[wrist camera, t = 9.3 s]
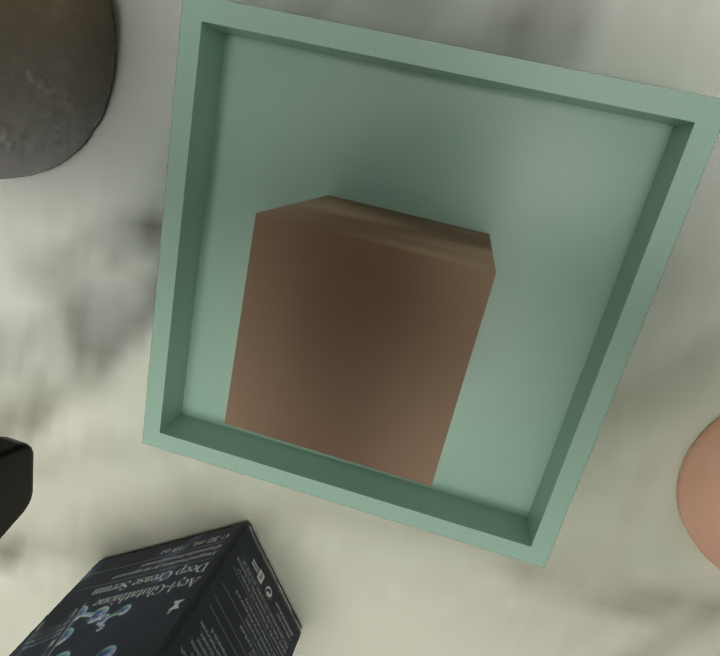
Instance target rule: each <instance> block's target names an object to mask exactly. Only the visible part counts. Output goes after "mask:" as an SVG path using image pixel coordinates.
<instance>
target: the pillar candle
mask: <svg viewBox="0 0 720 656" xmlns="http://www.w3.org/2000/svg"><path fill="white" fill-rule="evenodd" d="M114 57H115V27H114V22H113V18H112V9H111V3H110V0H0V179H5V178H17V177H25V176H29V175H33V174H36V173H40V172H43V171H46V170H49V169H51V168H53V167H55V166H57V165H59V164H61V163H62V162H64V161H65V160H66V159H67V158H69V157H70V156H72V155H73V154H74V153H75V152H77V151H78V149H80V148H81V147H82V146H83V145H84V144H85V142H86V141H87V140H88V138H89V136H90V134H91V133H92V132H93V130H94V128H95V127H96V125H97V124H98V122H99V120H100V119H101V117H102V115H103V113H104V110H105V107H106V104H107V102H108V98H109V93H110V89H111V84H112V80H113V74H114Z"/></svg>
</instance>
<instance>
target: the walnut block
mask: <svg viewBox="0 0 720 656" xmlns="http://www.w3.org/2000/svg"><path fill="white" fill-rule="evenodd" d="M495 275H496V270H495V264H494V258H493V252H492V246H491V240H490V234H487V233H483V232H479V231H475V230H471V229H467V228H463V227H459V226H454V225H450V224H446V223H442V222H438V221H434V220H430V219H426V218H422V217H417V216H413V215H409V214H405V213H401V212H397V211H393V210H389V209H385V208H380V207H376V206H372V205H368V204H364V203H360V202H356V201H352V200H348V199H343V198H339V197H335V196H331V195H327V196H323V197H319V198H315V199H310V200H306V201H302V202H298V203H294V204H290V205H286V206H282V207H278V208H274V209H270V210H266V211H261V212H257V213H256V216H255V223H254V229H253V236H252V243H251V249H250V256H249V263H248V269H247V276H246V283H245V289H244V296H243V303H242V309H241V316H240V323H239V329H238V336H237V343H236V349H235V356H234V363H233V370H232V376H231V383H230V390H229V396H228V403H227V410H226V416H225V424H228V425H231V426H235V427H238V428H241V429H245V430H248V431H251V432H254V433H258V434H261V435H264V436H268V437H271V438H274V439H278V440H281V441H284V442H287V443H291V444H294V445H297V446H301V447H304V448H307V449H310V450H314V451H317V452H320V453H324V454H327V455H330V456H334V457H337V458H340V459H343V460H347V461H350V462H353V463H357V464H360V465H363V466H366V467H370V468H373V469H376V470H380V471H383V472H386V473H390V474H393V475H396V476H399V477H403V478H406V479H409V480H413V481H416V482H419V483H422V484H426V485H429V486H432V483H433V480H434V476H435V473H436V470H437V467H438V463H439V460H440V457H441V453H442V450H443V447H444V443H445V440H446V437H447V434H448V430H449V427H450V424H451V420H452V417H453V414H454V410H455V407H456V404H457V401H458V397H459V394H460V391H461V387H462V384H463V381H464V377H465V374H466V371H467V368H468V364H469V361H470V358H471V354H472V351H473V348H474V345H475V341H476V338H477V335H478V331H479V328H480V325H481V321H482V318H483V315H484V312H485V308H486V305H487V302H488V298H489V295H490V292H491V288H492V285H493V282H494V279H495Z"/></svg>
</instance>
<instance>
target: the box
mask: <svg viewBox="0 0 720 656" xmlns="http://www.w3.org/2000/svg"><path fill="white" fill-rule="evenodd" d="M300 634H301V629H300V626H299V624H298V622H297V620H296V619H295V617H294V614H293V612H292V610H291V607H290V605H289V603H288V602H287V599H286V597H285V595H284V593H283V590H282V588H281V587H280V585H279V583H278V581H277V580H276V577H275V575H274V573H273V571H272V569H271V567H270V565H269V563H268V561H267V559H266V557H265V555H264V553H263V551H262V549H261V547H260V545H259V543H258V542H257V539H256V537H255V536H254V534H253V531H252V528H251V526H249V525H248V524H240V525H237V526H233V527H229V528H226V529H222V530H217V531H214V532H210V533H206V534H202V535H198V536H195V537H191V538H187V539H183V540H181V541H176V542H172V543H168V544H164V545H161V546H157V547H153V548H149V549H145V550H141V551H137V552H133V553H130V554H125V555H121V556H117V557H112V558H108V559H104V560H100V561H99V562H98V563H97V564H96V565H95V566H94V567H93V568H92V569H91V570H90V571H89V572H88V574H87V575H86V576H85V577H84V578H83V579H82V580H81V581H80V582H79V583H78V584H77V585H76V586H75V587H74V588H73V589H72V590H71V591H70V592H69V593H68V594H67V595H66V596H65V597H64V598H63V600H62V601H61V602H60V603H59V604H58V605H57V606H56V607H55V608H54V609H53V610H52V611H51V612H50V613H49V614H48V615H47V616H46V617H45V618H44V619H43V621H42V622H41V623H40V624H39V625H38V626H37V627H36V628H35V629H34V630H33V631H32V632H31V633H30V634H29V635H28V636H27V637H26V639H25V640H24V641H23V642H22V643H21V644H20V645H19V646H18V647H17V648H16V649H15V650H14V651H13V652H12V653H11V654H10V655H9V656H292V655H293V652H294V649H295V647H296V644H297V641H298V640H299V637H300Z"/></svg>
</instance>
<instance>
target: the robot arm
mask: <svg viewBox="0 0 720 656" xmlns="http://www.w3.org/2000/svg"><path fill="white" fill-rule="evenodd" d="M32 492H33V450H32V448H31V446H29V445H28V444H27V443H24V442H21V441H18V440H15V439H12V438H9V437H0V538H1V537H2V536H3V535H4V534H5V532H6V531H7V530H8V529H9V528H10V527H11V526H12V524H13V523H14V522H15V521H16V520H17V519H18V518H19V516H20V515H21V514H22V513H23V512H24V510H25V509H26V508H27V506H28V504H29V502H30V500H31V497H32Z"/></svg>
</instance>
